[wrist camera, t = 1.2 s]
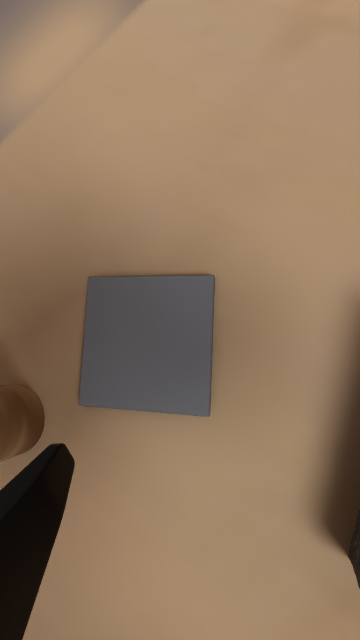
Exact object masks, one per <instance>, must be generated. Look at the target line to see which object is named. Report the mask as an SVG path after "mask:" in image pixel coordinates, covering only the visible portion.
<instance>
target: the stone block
mask: <svg viewBox="0 0 360 640" xmlns="http://www.w3.org/2000/svg"><path fill="white" fill-rule="evenodd" d="M348 557H349V559H350V561H351V563H352V565H353V569H354V572H355V575H356V577H357V581H358V585H359V588H360V512H359V515H358V520H357V523H356V527H355V530H354V534H353V538H352V542H351V547H350V551H349V555H348Z"/></svg>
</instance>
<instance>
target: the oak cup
mask: <svg viewBox="0 0 360 640" xmlns="http://www.w3.org/2000/svg"><path fill="white" fill-rule="evenodd" d="M43 427H44V410H43V406H42V403H41V401H40V399H39V398H38V396H37V395H36V394H35V393H34V392H33V391H32V390H31V389H29V388H28V387H25V386H22V385H7V386H0V462H1V461H3V460H6V459H8V458H11V457H14V456H16V455H19V454H21V453H24V452H26V451H28V450H29V449H31V448H32V447H33V446H34V445H35V444H36V443H37V441H38V440H39V438H40V436H41V434H42V431H43Z"/></svg>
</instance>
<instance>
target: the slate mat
mask: <svg viewBox="0 0 360 640" xmlns="http://www.w3.org/2000/svg"><path fill="white" fill-rule="evenodd" d="M214 287H215V277H214V275H199V276H131V277H89V280H88V293H87V306H86V318H85V331H84V344H83V357H82V369H81V382H80V395H79V405H81V406H92V407H104V408H115V409H126V410H138V411H149V412H160V413H172V414H183V415H194V416H206V417H209V416H210V403H211V374H212V345H213V316H214Z"/></svg>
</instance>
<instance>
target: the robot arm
mask: <svg viewBox="0 0 360 640" xmlns="http://www.w3.org/2000/svg"><path fill="white" fill-rule="evenodd" d="M74 465H75V463H74V459H73V457H72V455H71V453H70V452H69V450H68V448H67V447H66V445H65V444H63V443H58V444H51V445H49V446H48V447H47V448H46V449H45V450H44V451H43V452H42V453H40V454H39V455H38V456H37V457H36V458H35V459H34V460H33V461H32V462H31V463H30V464H29V465H27V466H26V467H25V468H24V469H23V470H22V471H21V472H20V473H19V474H18V475H17V476H16V477H15V478H13V479H12V480H11V481H10V482H9V483H8V484H7V485H6V486H5V487H4V488H3V489H2V490H0V640H22V639H23V636H24V633H25V630H26V627H27V624H28V621H29V618H30V615H31V612H32V609H33V606H34V603H35V600H36V597H37V594H38V590H39V587H40V584H41V581H42V578H43V575H44V572H45V569H46V566H47V563H48V560H49V557H50V554H51V551H52V548H53V545H54V542H55V539H56V536H57V533H58V530H59V527H60V524H61V521H62V517H63V513H64V510H65V505H66V501H67V497H68V492H69V488H70V484H71V480H72V475H73V471H74Z"/></svg>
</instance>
